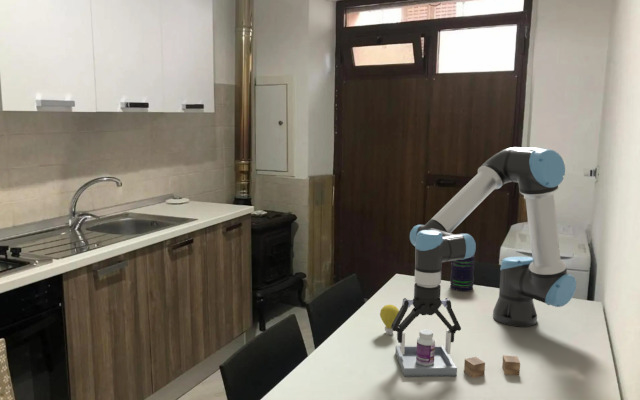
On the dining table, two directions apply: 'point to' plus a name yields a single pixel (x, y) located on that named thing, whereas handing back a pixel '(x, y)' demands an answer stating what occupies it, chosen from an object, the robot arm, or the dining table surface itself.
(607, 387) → the dining table surface
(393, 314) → the light bulb
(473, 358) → the walnut block
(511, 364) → the walnut block
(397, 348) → the tray
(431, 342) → the pill bottle
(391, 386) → the dining table surface
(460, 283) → the storage jar
